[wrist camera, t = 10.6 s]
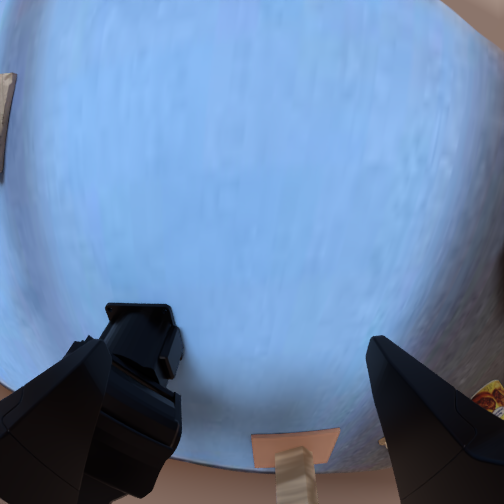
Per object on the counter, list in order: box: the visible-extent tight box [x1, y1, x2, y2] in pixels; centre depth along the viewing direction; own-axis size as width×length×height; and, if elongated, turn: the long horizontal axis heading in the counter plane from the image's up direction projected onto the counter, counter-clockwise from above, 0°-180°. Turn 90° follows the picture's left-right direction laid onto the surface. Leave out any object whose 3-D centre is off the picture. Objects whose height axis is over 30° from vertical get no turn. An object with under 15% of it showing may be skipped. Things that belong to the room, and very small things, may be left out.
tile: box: [251, 428, 340, 468], centre depth 34 cm, size 12×12×1 cm
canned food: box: [471, 380, 504, 420], centre depth 27 cm, size 8×8×12 cm
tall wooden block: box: [275, 446, 318, 504], centre depth 29 cm, size 4×4×11 cm
